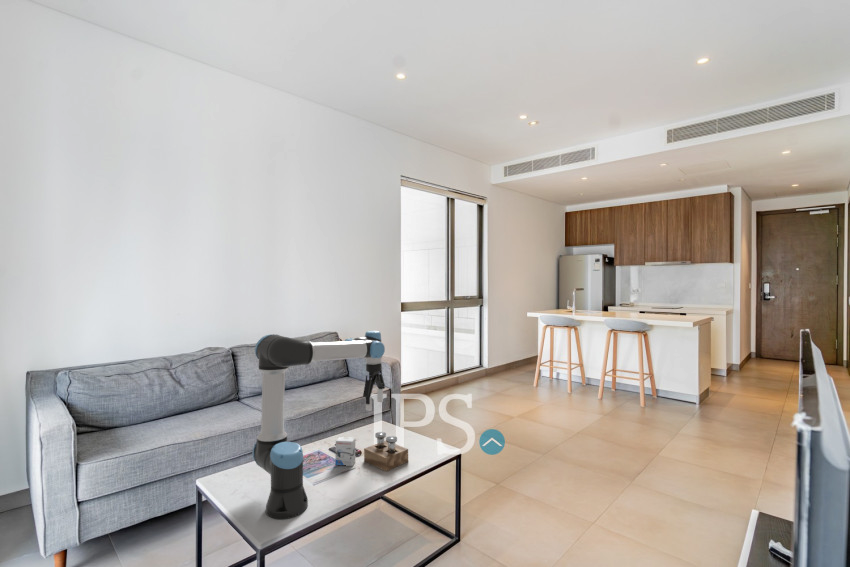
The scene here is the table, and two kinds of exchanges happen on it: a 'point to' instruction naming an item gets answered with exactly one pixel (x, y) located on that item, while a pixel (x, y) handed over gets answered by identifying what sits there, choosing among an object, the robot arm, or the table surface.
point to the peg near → (391, 444)
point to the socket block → (385, 456)
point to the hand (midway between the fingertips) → (374, 406)
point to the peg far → (380, 439)
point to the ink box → (345, 451)
